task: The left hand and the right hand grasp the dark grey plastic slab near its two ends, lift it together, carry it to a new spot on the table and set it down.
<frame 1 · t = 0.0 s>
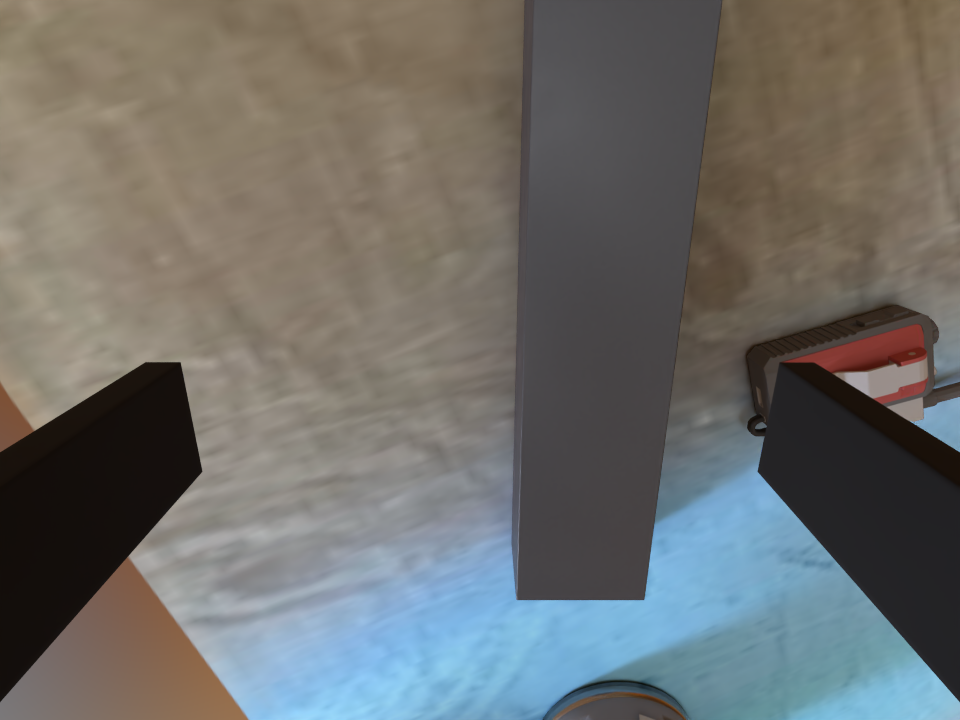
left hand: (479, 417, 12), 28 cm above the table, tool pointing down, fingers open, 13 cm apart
walkie-talkie: (868, 362, 42), on the table
slab: (592, 167, 37), on the table
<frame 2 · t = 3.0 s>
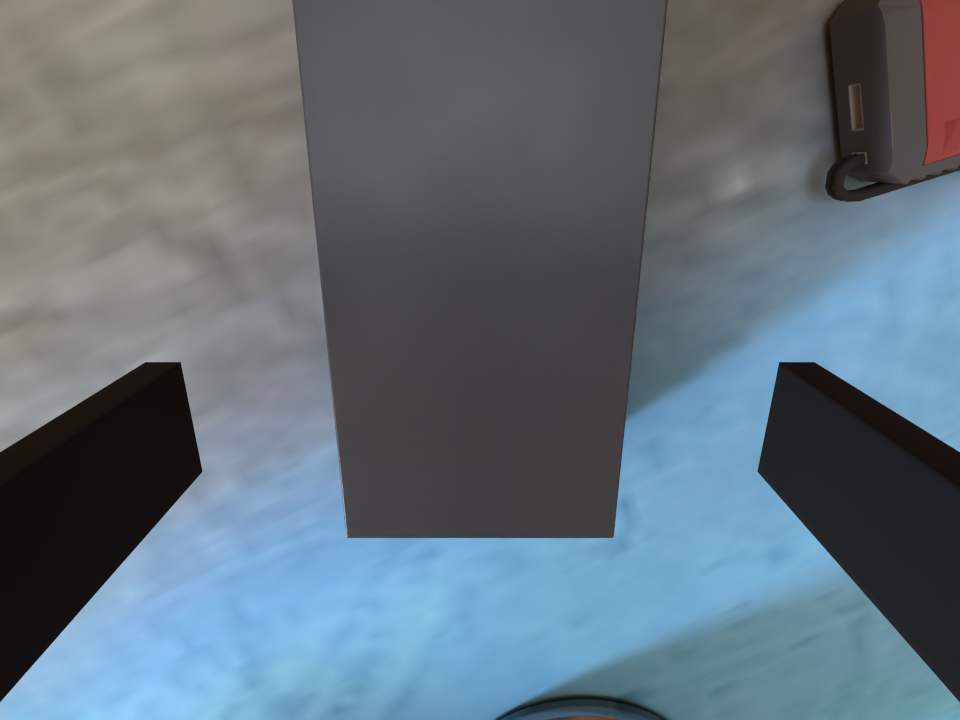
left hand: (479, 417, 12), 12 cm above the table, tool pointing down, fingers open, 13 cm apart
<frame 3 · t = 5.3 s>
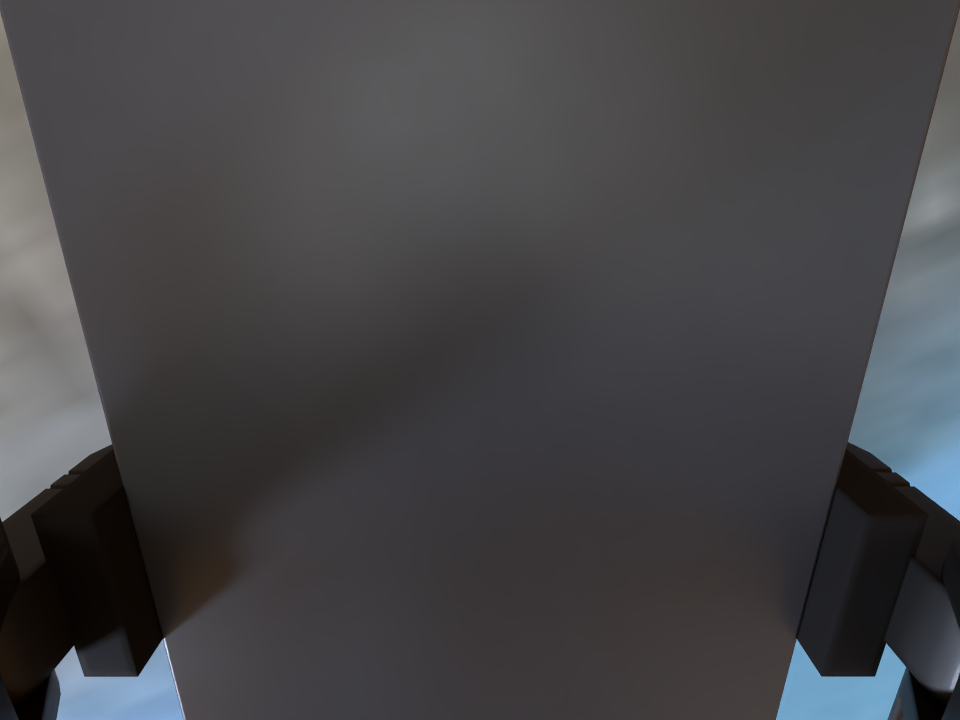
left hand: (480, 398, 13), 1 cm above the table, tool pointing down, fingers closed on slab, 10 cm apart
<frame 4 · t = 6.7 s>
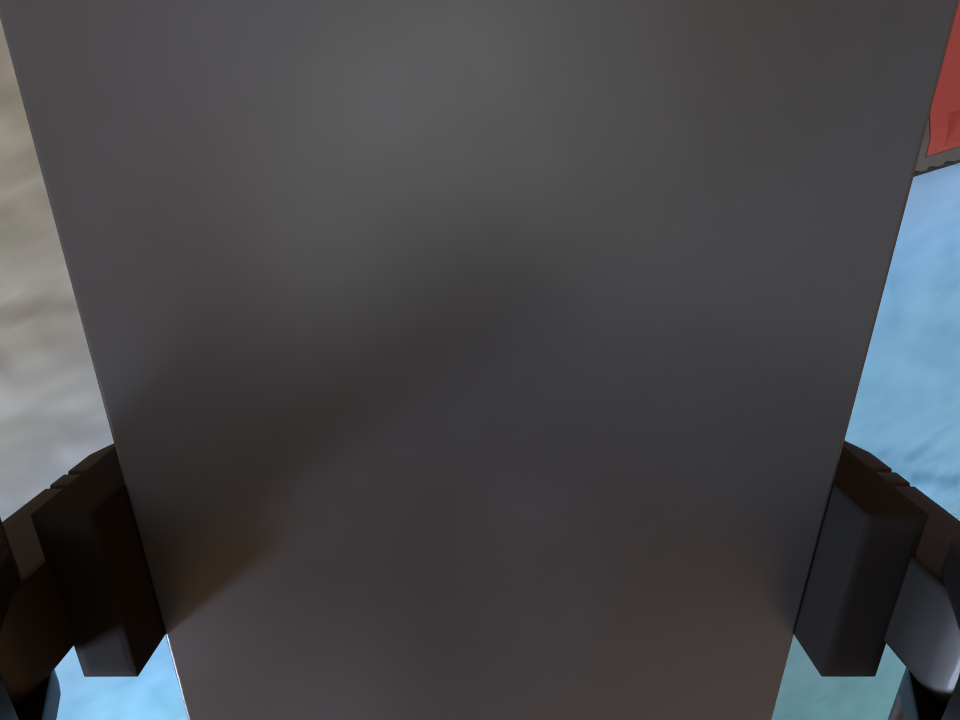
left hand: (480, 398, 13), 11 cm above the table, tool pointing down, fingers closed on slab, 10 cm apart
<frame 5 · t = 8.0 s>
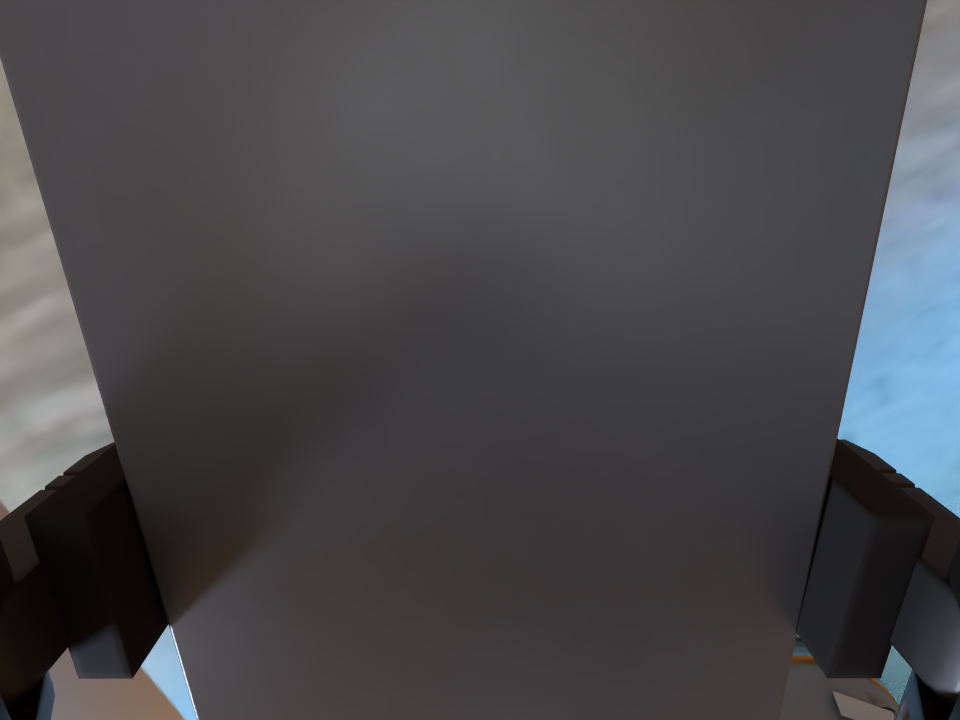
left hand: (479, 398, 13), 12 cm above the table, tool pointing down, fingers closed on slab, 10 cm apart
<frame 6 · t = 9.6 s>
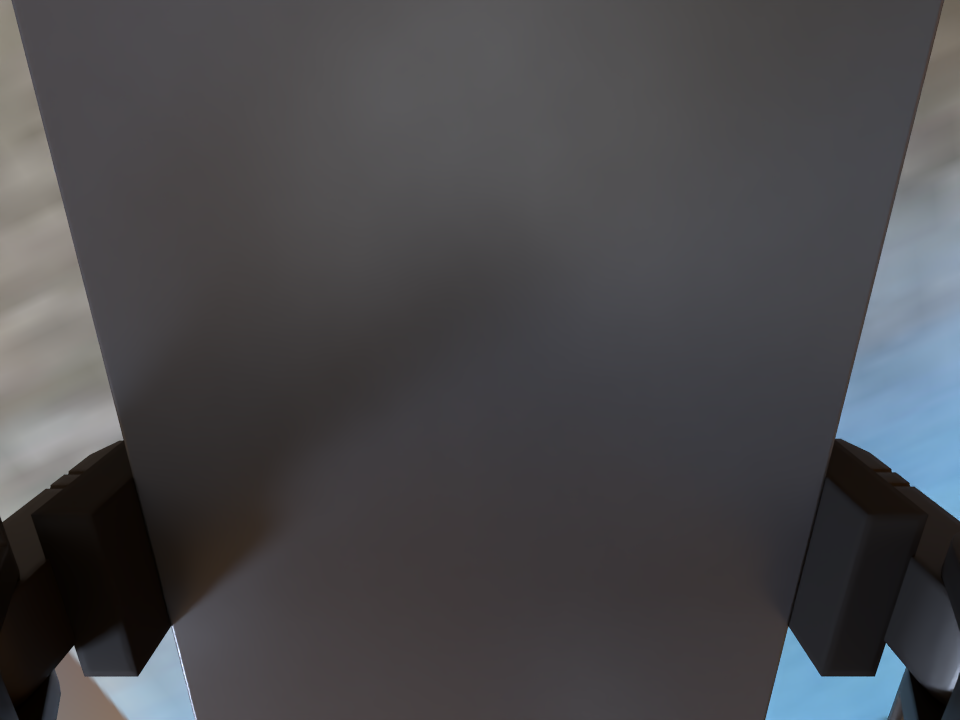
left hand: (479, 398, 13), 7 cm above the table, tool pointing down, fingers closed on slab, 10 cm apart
when the left hand's fingers open (2 cm above the table, at t = 10.9 s): slab drops 2 cm, on the table.
when the right hand's fingers open (2 cm above the table, at t = 10.9 s): slab drops 2 cm, on the table.
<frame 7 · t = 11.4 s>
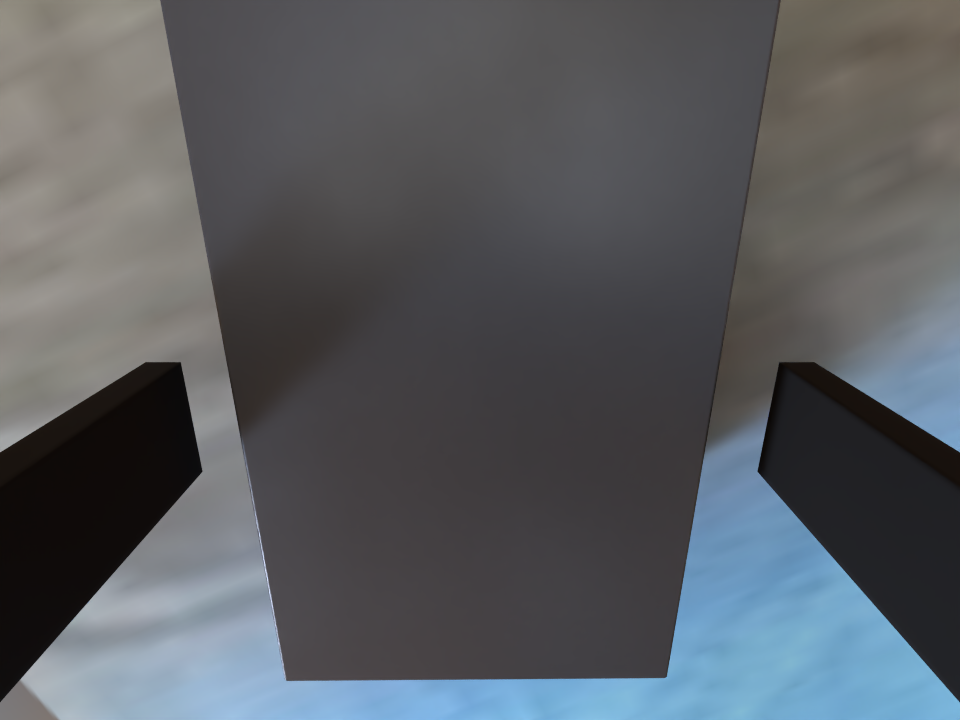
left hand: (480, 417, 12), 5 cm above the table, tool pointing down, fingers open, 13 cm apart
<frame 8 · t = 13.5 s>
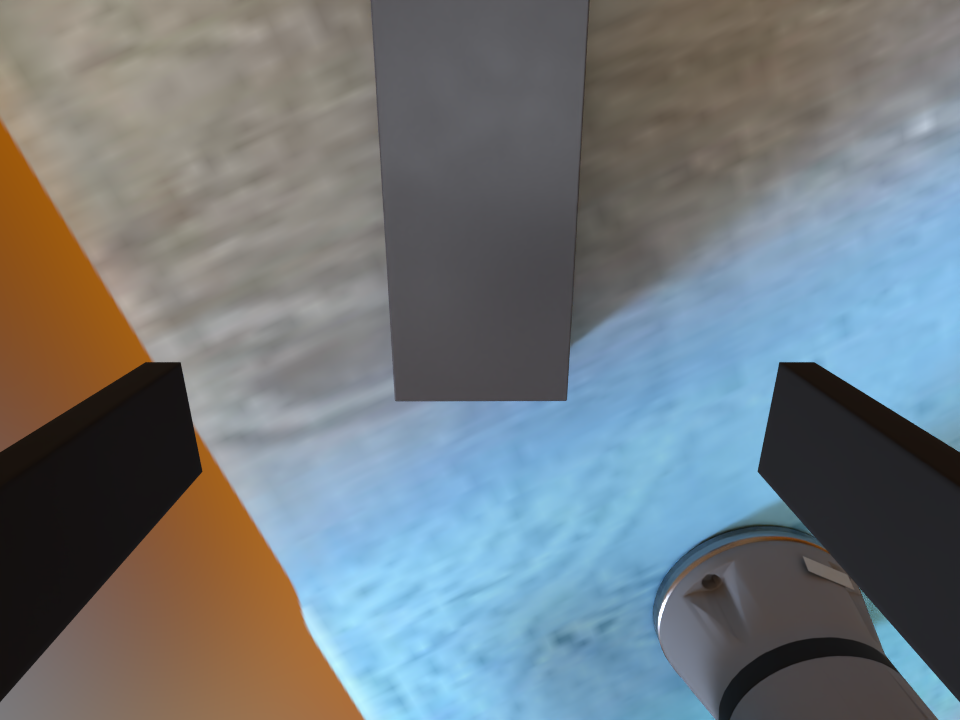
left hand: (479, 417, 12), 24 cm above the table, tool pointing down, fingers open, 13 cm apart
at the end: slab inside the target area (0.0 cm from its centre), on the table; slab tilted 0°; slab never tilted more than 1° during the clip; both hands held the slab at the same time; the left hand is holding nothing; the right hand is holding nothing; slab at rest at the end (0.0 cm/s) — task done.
